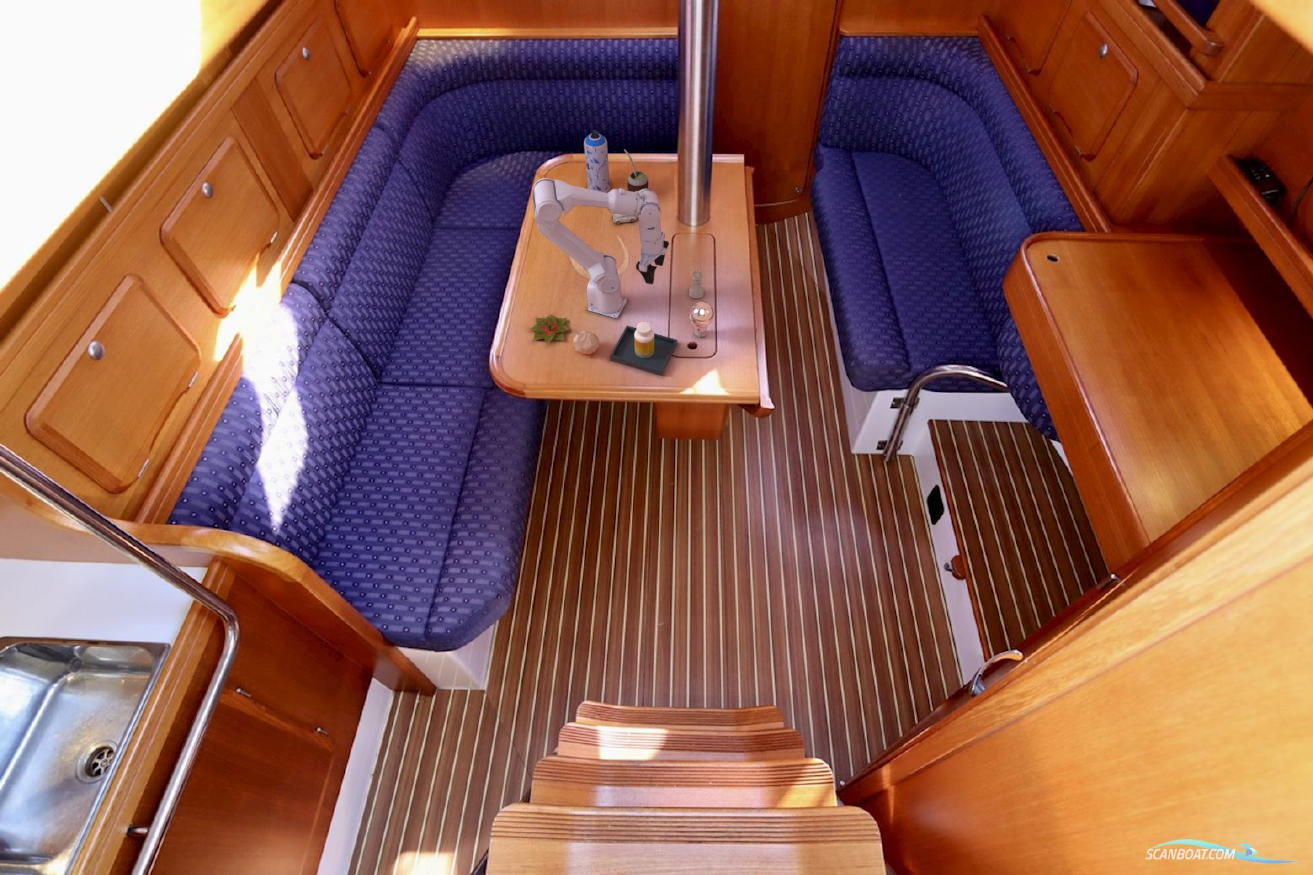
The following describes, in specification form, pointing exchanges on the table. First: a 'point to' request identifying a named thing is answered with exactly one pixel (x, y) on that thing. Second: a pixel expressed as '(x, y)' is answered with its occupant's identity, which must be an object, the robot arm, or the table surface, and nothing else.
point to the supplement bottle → (644, 340)
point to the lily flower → (549, 328)
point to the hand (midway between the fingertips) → (654, 273)
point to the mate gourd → (636, 179)
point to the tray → (652, 364)
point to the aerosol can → (597, 162)
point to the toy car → (623, 218)
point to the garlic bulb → (585, 342)
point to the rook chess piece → (696, 285)
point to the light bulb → (701, 317)
